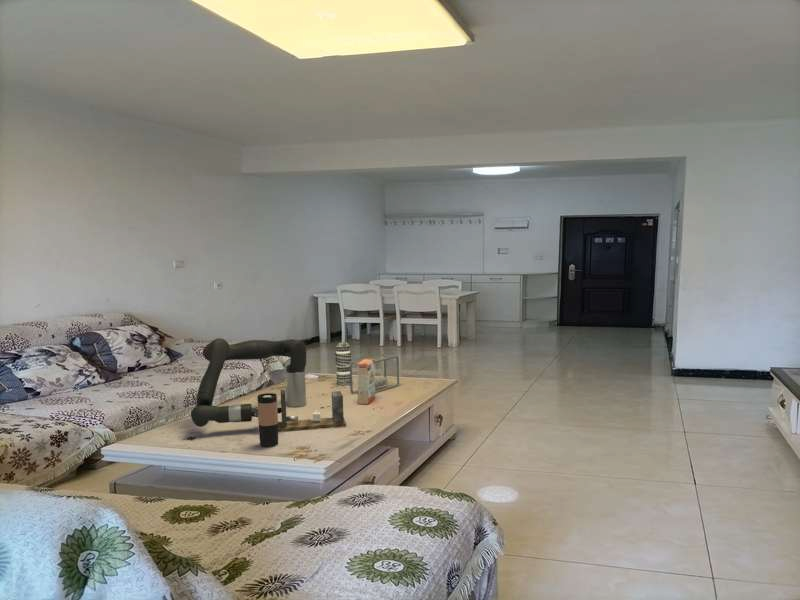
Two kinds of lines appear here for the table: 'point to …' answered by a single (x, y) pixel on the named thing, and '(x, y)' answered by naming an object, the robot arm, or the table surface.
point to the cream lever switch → (316, 416)
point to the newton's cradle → (380, 380)
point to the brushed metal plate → (283, 410)
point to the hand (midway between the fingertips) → (281, 410)
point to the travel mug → (268, 419)
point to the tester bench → (308, 424)
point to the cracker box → (366, 381)
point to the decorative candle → (343, 364)
